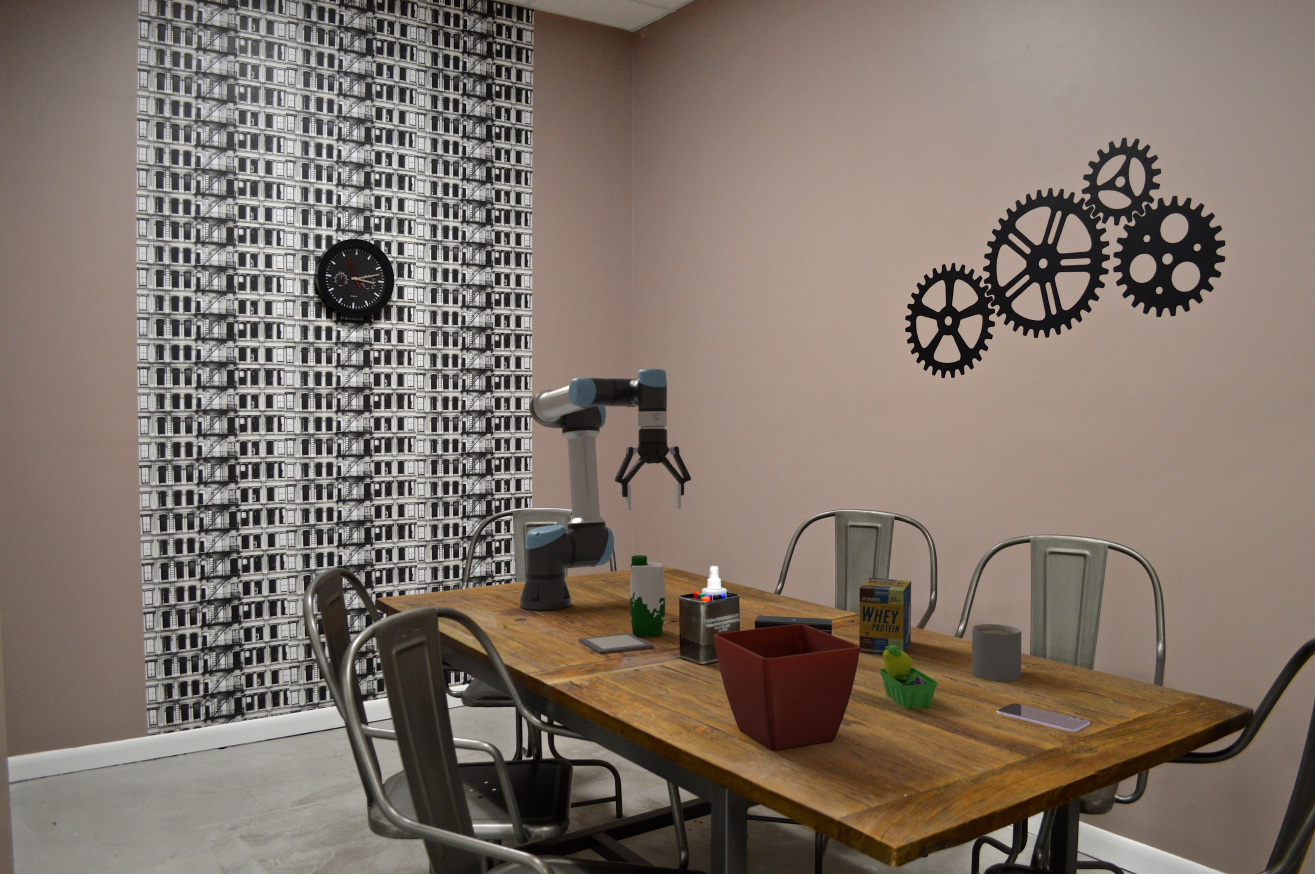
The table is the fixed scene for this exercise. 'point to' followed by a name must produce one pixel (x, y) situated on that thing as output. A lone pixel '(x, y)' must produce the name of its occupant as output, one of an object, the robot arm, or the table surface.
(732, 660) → the plant pot
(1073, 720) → the mobile phone
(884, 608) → the protein box
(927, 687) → the fruit basket
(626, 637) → the mat
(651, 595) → the soya milk
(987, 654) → the coffee mug
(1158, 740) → the table surface
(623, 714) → the table surface
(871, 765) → the table surface
